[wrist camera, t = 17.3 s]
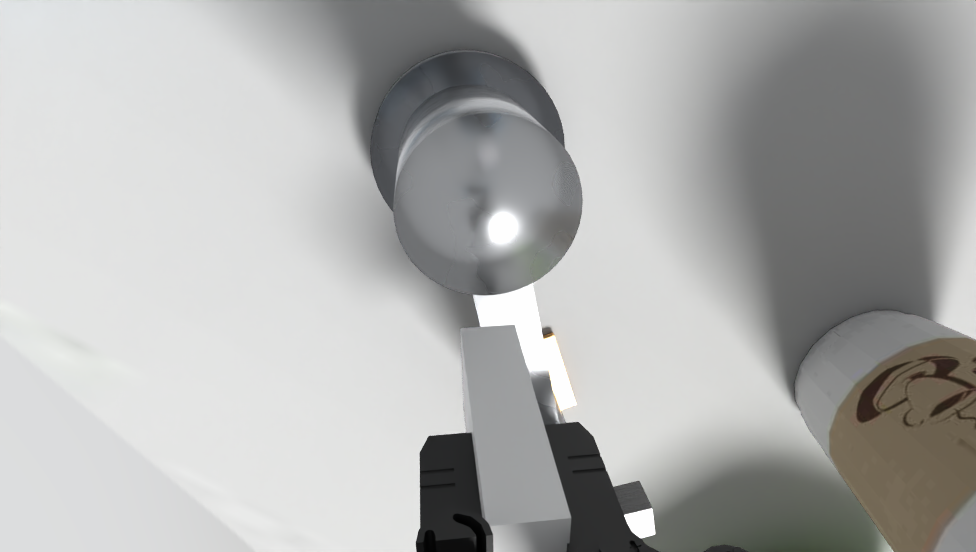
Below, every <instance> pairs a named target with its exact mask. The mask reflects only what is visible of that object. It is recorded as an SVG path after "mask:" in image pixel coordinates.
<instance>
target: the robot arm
mask: <svg viewBox="0 0 976 552" xmlns="http://www.w3.org/2000/svg"><path fill="white" fill-rule="evenodd" d="M460 331H461V357H462V383H463V408H464V417H465V426H466V433H460V434H448V435H436V436H429V437H428V438H427V440H426V442H425V444H424V446H423V448H422V450H421V452H420V529H419V531H418V536H417V540H416V549H417V552H659V551H657V550H655V549H653V548H651V547H649V546H647V545H646V544H645V543H644V542H643V540H642V539H641V538H640V537H638V536H637V535H636V534H635V533H633V532H632V531H631V529H630V527H629V525H628V523H627V521H626V518H625V516H624V513H623V511H622V508H621V506H620V503H619V501H618V498H617V496H616V493H615V491H614V488H613V486H612V483H611V480H610V478H609V475H608V473H607V471H606V469H605V465H604V463H603V460H602V458H601V457H600V453H599V450H598V447H597V445H596V442H595V440H594V437H593V436H592V435H591V434H590V433H589V432H588V431H587V430H586V429H585V428H584V427H583V426H582V425H581V424H580V423H579V422H573V423H561V424H549V425H544V423H543V419H542V416H541V413H540V409H539V406H538V402H537V399H536V396H535V392H534V389H533V385H532V382H531V378H530V375H529V372H528V368H527V365H526V361H525V358H524V355H523V351H522V348H521V344H520V341H519V337H518V334H517V331H516V327H515V325H500V326H485V327H471V328H460ZM704 552H748V551H746V550H744V549H742V548H740V547H734V546H729V545H720V546H713V547H710V548H709V549H707V550H706V551H704Z"/></svg>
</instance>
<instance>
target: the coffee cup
mask: <svg viewBox="0 0 976 552" xmlns="http://www.w3.org/2000/svg"><path fill="white" fill-rule="evenodd" d="M794 384H795V401H796V403H797V405H798V407H799V409H800V410H801V415H802V417H803V419H804V421H805V423H806V425H807V427H808V429H809V430H810V432H811V433H812V435H813V436H814V438H815V439H816V440H817V442H818V443H819V445H820V446H821V448H822V449H823V450H824V452H825V453H826V455H827V456H828V458H829V459H830V461H831V462H832V463H833V465H834V466H835V468H836V469H837V471H838V472H839V473H840V475H841V476H842V478H843V479H844V481H845V482H846V483H847V485H848V486H849V488H850V489H851V491H852V492H853V493H854V495H855V496H856V498H857V499H858V501H859V502H860V504H861V505H862V506H863V508H864V509H865V511H866V512H867V514H868V515H869V516H870V518H871V519H872V521H873V522H874V524H875V525H876V526H877V528H878V529H879V531H880V532H881V534H882V535H883V536H884V538H885V539H886V541H887V542H888V544H889V545H890V547H891V548H892V549H893V551H894V552H976V340H975V339H973V338H971V337H968V336H966V335H964V334H961V333H959V332H957V331H955V330H952V329H950V328H948V327H945V326H943V325H941V324H938V323H936V322H934V321H931V320H928V319H925V318H923V317H920V316H917V315H914V314H905V313H902V312H899V311H896V310H874V311H871V312H867V313H864V314H860V315H857V316H854V317H851V318H849V319H847V320H846V321H844V322H842V323H841V324H839V325H837V326H835V327H834V328H832V329H830V330H829V331H828V332H827V333H826V334H825V335H824V336H823V337H822V338H820V339H819V340H818V341H817V342H816V343H815V344H814V345H813V346H812V348H811V349H810V351H809V352H808V354H807V355H806V357H805V358H804V360H803V361H802V363H801V364H800V367H799V370H798V373H797V377H796V380H795V383H794Z"/></svg>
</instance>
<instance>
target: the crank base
mask: <svg viewBox="0 0 976 552" xmlns="http://www.w3.org/2000/svg"><path fill="white" fill-rule="evenodd" d="M464 84H475V85H483V86H487V87H491V88H494V89H496V90H499V91H501V92H503V93H505V94H506V95H508V96H510V97H511V98H512V99H513V100H515V101H516V102H517V103H518V104H519V105H520V106H521V107H522V108H524V109H525V110H526V111H527V112H528V113H529V114H530V115H531V116H532V117H533V118H534V119H535V120H537V121H538V122H539V123H540V124H541V125H542V126H543V127H544V128H545V129H546V130H547V131H548V132H550V133H551V134H552V135H553V136H554V137H555V138H556V139H557V140H558V141H559V142H560V143H561V144H562V146H563V147H564V148H565V146H564V134H563V129H562V123H561V120H560V117H559V114H558V111H557V109H556V107H555V105H554V103H553V101H552V99H551V98H550V96H549V95H548V93H547V92H546V90H545V89H544V88H543V87H542V86H541V84H540V83H539V82H538V81H537V80H536V79H535V78H534V77H533V76H531V75H530V74H529V73H528V72H527V71H525V70H524V69H522V68H521V67H519V66H518V65H516V64H514V63H513V62H511V61H509V60H507V59H504V58H502V57H500V56H498V55H495V54H491V53H488V52H483V51H476V50H456V51H448V52H444V53H441V54H437V55H434V56H432V57H429V58H427V59H425V60H423V61H421V62H419V63H418V64H416V65H415V66H413V67H411V68H410V69H409V70H408V71H407V72H405V73H404V74H403V75H402V76H401V77H400V78H399V79H398V80H397V81H396V82H395V83H394V85H393V86H392V87H391V89H390V90H389V92H388V93H387V95H386V96H385V98H384V100H383V102H382V104H381V106H380V109H379V112H378V115H377V117H376V120H375V123H374V127H373V132H372V137H371V163H372V168H373V173H374V177H375V180H376V183H377V186H378V188H379V190H380V192H381V194H382V196H383V198H384V200H385V201H386V203H387V204H388V206H389V207H390V209H391V210H392V211H393V204H394V191H395V183H396V174H397V165H398V156H399V147H400V142H401V137H402V134H403V131H404V128H405V126H406V124H407V122H408V120H409V118H410V117H411V115H412V114H413V112H414V111H415V110H416V109H417V108H418V107H419V106H420V104H422V103H423V102H424V101H425V100H426V99H428V98H429V97H430V96H432V95H434V94H435V93H437V92H439V91H441V90H444V89H446V88H449V87H453V86H458V85H464ZM543 341H544V346H545V351H546V356H547V361H548V367H549V372H550V377H551V382H552V388H553V391H554V392H555V395H556V397H557V400H558V403H559V406H560V408H561V409H564V408H567V407H570V406H573V405H576V402H575V399H574V396H573V393H572V390H571V387H570V383H569V380H568V377H567V374H566V371H565V368H564V365H563V361H562V358H561V355H560V352H559V349H558V346H557V343H556V339H555V336H554V334H553V332H552V333H549V334H546V335H543Z"/></svg>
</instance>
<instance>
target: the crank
mask: <svg viewBox="0 0 976 552" xmlns="http://www.w3.org/2000/svg"><path fill="white" fill-rule="evenodd" d="M393 212H394V222H395V226H396V231H397V234H398V237H399V240H400V242H401V244H402V246H403V248H404V250H405V252H406V254H407V255H408V256H409V258H410V259H411V261H412V262H413V263H414V264H415V265H416V266H417V268H418V269H419V270H420V271H421V272H423V273H424V274H425V275H426V276H428V277H429V278H430V279H432V280H433V281H435V282H436V283H438V284H440V285H442V286H444V287H446V288H448V289H451V290H454V291H457V292H460V293H465V294H471V295H473V298H474V302H475V306H476V310H477V314H478V318H479V323H480V327H485V326H500V325H515V327H516V331H517V334H518V337H519V341H520V344H521V348H522V351H523V355H524V358H525V361H526V365H527V368H528V372H529V375H530V378H531V382H532V385H533V389H534V392H535V396H536V399H537V402H538V406H539V409H540V413H541V416H542V419H543V423H544V425H549V424H561V423H566V422H565V419H564V417H563V414H562V411H561V408H560V406H559V403H558V400H557V397H556V395H555V392H554V391H553V388H552V382H551V377H550V372H549V367H548V361H547V356H546V351H545V346H544V341H543V335H542V330H541V325H540V320H539V315H538V309H537V304H536V299H535V294H534V288H533V282H535V281H537V280H538V279H540V278H541V277H543V276H544V275H545V274H547V273H548V272H549V271H550V270H551V269H552V268H553V267H554V266H556V265H557V263H558V262H559V261H560V260H561V259H562V257H563V256H564V255H565V253H566V252H567V250H568V249H569V247H570V246H571V244H572V242H573V240H574V238H575V235H576V233H577V230H578V227H579V224H580V219H581V214H582V188H581V183H580V179H579V175H578V172H577V170H576V167H575V165H574V163H573V161H572V159H571V157H570V155H569V154H568V152H567V151H566V150H565V148H564V147H563V146H562V144H561V143H560V142H559V141H558V140H557V139H556V138H555V137H554V136H553V135H552V134H551V133H550V132H548V131H547V130H546V129H545V128H544V127H543V126H542V125H541V124H540V123H539V122H538V121H537V120H535V119H534V118H533V117H532V116H531V115H530V114H529V113H528V112H527V111H526V110H525V109H524V108H522V107H521V106H520V105H519V104H518V103H517V102H516V101H515V100H513V99H512V98H511V97H510V96H508V95H506V94H505V93H503V92H501V91H499V90H496V89H494V88H491V87H487V86H483V85H475V84H464V85H458V86H453V87H449V88H446V89H444V90H441V91H439V92H437V93H435V94H434V95H432V96H430V97H429V98H428V99H426V100H425V101H424V102H423V103H422V104H420V106H419V107H418V108H417V109H416V110H415V111H414V112H413V114H412V115H411V117H410V118H409V120H408V122H407V124H406V126H405V128H404V131H403V134H402V137H401V142H400V147H399V156H398V165H397V174H396V183H395V191H394V204H393ZM613 488H614V491H615V493H616V496H617V498H618V501H619V503H620V506H621V508H622V511H623V513H624V516H625V518H626V521H627V523H628V525H629V527H630V529H631V531H632V532H633V533H635V534H636V535H637V536H638V537H640V538H643V537H647V536H651V535H655V528H654V519H653V510H652V507H651V505H650V502H649V500H648V498H647V496H646V494H645V492H644V490H643V488H642V486H641V483H640V481H636V482H632V483H628V484H624V485H620V486H615V487H613Z"/></svg>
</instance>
